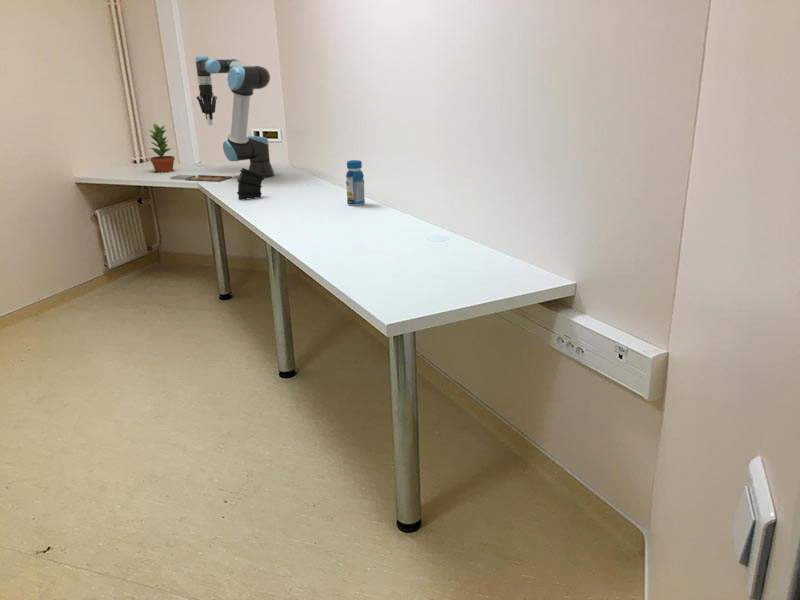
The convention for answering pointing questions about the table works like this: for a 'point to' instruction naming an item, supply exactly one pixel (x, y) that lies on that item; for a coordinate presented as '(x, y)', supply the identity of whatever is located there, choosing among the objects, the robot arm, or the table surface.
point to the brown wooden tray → (209, 178)
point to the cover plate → (183, 177)
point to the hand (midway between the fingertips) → (210, 125)
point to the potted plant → (161, 151)
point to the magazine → (249, 184)
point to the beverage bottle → (355, 183)
